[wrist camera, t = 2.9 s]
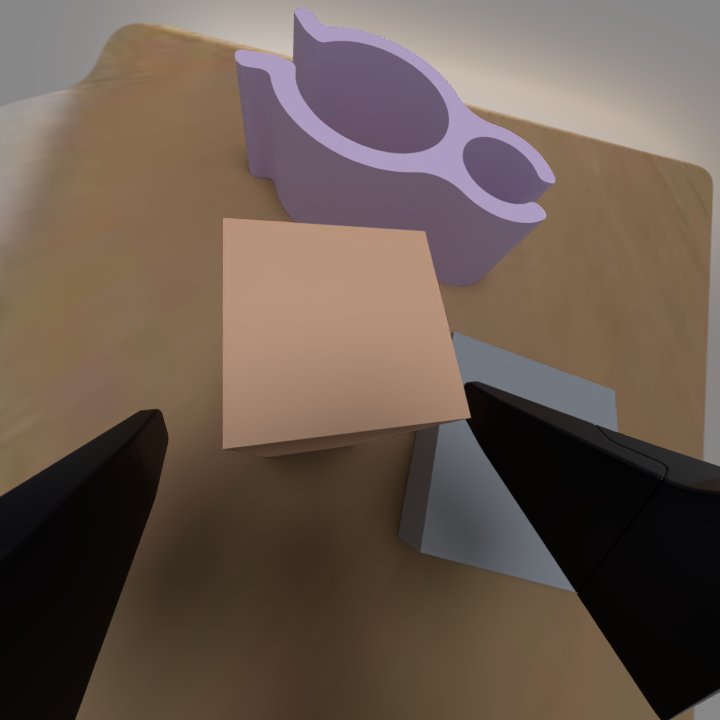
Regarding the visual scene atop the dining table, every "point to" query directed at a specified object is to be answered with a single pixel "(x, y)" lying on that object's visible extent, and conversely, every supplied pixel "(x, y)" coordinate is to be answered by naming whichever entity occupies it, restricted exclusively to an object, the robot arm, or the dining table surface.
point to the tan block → (331, 337)
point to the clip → (387, 148)
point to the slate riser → (489, 471)
